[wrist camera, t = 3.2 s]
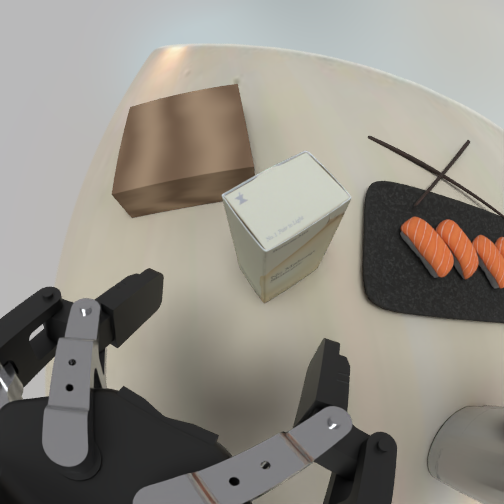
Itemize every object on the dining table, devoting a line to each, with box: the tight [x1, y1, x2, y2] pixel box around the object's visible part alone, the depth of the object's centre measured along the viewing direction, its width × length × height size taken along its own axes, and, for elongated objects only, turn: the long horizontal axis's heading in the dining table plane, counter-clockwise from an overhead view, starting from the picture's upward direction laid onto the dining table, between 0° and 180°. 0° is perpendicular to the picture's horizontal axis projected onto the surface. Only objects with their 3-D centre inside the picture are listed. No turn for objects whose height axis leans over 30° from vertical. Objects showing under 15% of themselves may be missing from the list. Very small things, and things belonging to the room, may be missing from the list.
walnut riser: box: [112, 84, 255, 218], centre depth 29 cm, size 14×14×5 cm
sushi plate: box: [363, 136, 504, 323], centre depth 26 cm, size 29×30×4 cm
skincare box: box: [222, 151, 351, 303], centre depth 20 cm, size 6×4×12 cm
